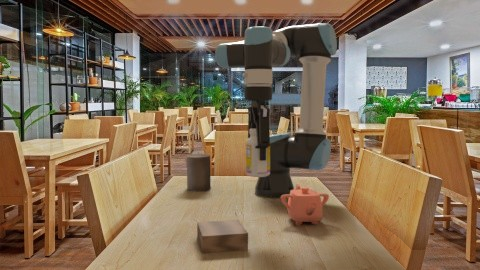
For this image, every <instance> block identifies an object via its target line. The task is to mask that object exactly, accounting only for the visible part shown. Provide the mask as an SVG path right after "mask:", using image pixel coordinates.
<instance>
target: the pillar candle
mask: <svg viewBox="0 0 480 270" xmlns="http://www.w3.org/2000/svg"><path fill="white" fill-rule="evenodd" d="M211 183H212V182H211V155H210V154H206V153H205V154H204V153H200V152H198V153H197V154H189V155H186V188H187V190H188V191H191V192H201V191H209V190H211V189H212V187H211Z"/></svg>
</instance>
